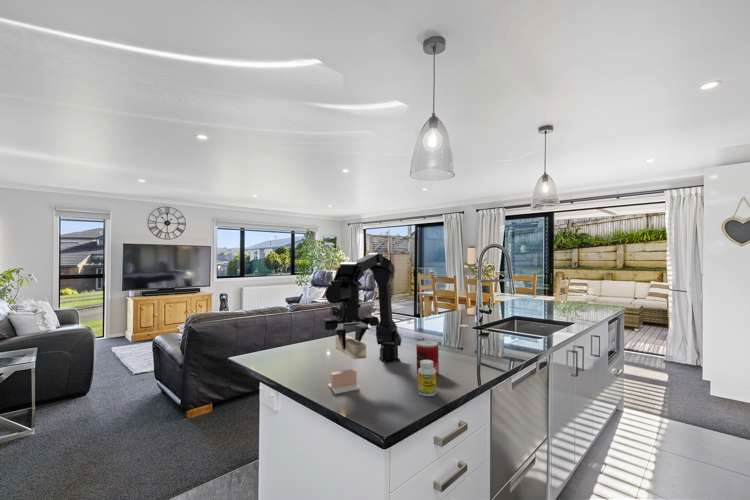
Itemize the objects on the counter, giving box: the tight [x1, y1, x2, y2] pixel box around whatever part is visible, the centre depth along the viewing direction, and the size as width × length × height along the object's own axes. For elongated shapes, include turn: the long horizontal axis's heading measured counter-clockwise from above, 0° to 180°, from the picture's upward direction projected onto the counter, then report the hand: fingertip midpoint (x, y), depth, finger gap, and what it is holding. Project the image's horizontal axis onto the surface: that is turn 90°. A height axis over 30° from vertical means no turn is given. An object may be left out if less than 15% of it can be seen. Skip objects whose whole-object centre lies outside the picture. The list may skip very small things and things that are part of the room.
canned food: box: [415, 339, 440, 377], centre depth 119 cm, size 8×8×11 cm
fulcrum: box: [327, 368, 361, 395], centre depth 108 cm, size 8×7×5 cm
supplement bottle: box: [417, 360, 437, 397], centre depth 102 cm, size 5×5×10 cm
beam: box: [335, 334, 367, 360], centre depth 109 cm, size 4×16×4 cm, turn 27°
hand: (350, 349), depth 109 cm, fingers closed on beam, 4 cm apart
